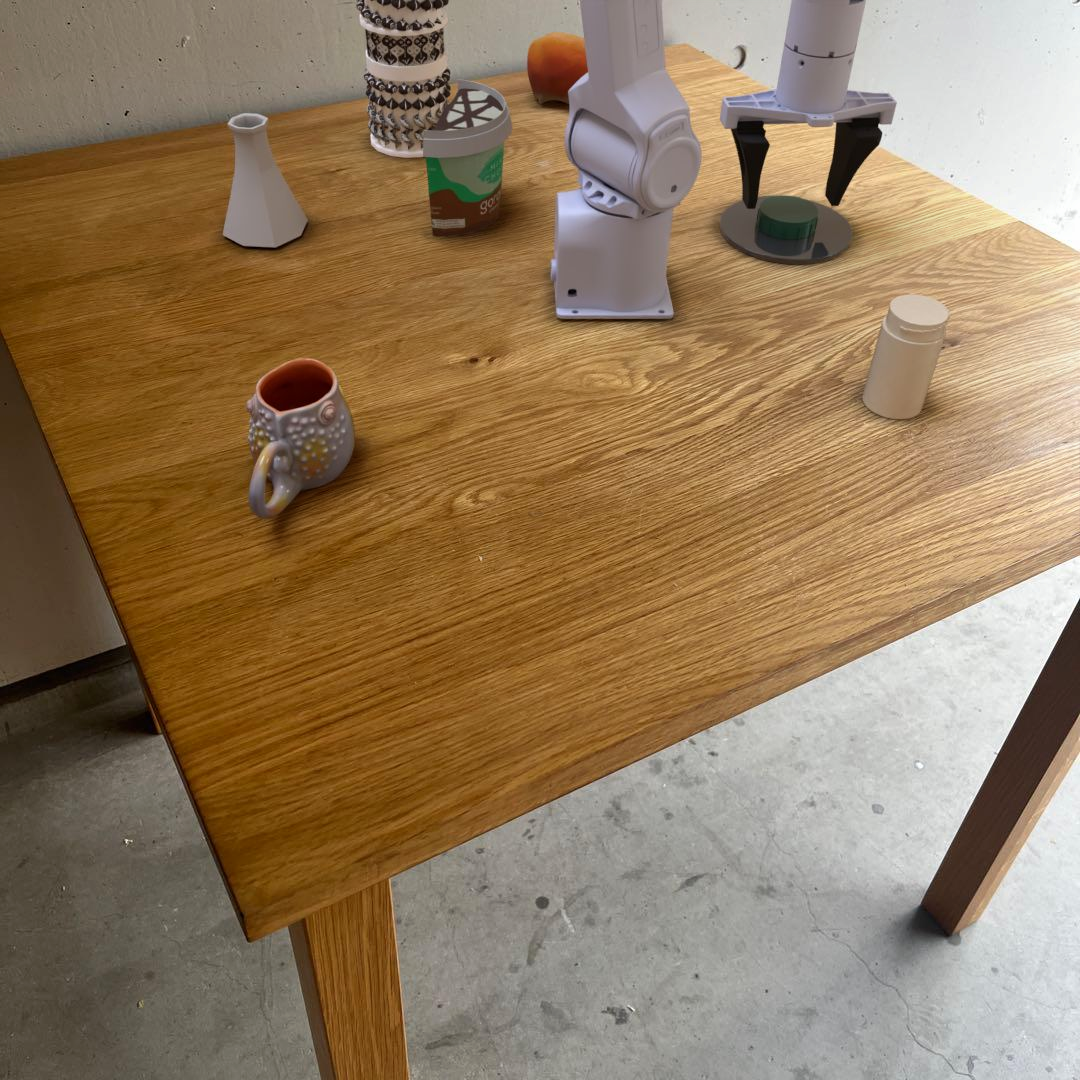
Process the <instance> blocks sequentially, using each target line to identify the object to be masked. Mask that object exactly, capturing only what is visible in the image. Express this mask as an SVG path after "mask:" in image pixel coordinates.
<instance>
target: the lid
mask: <svg viewBox="0 0 1080 1080" xmlns="http://www.w3.org/2000/svg"><path fill="white" fill-rule="evenodd" d="M772 196H773V197H769V198H767V199H765V200H763V201H762V202H761V204H760V207H759V209H758V214H757V220H756V221H757V225H758V228H759V229H760V230H761V231H763V232H764V233H766V234H768V235H770V236H772V237H776V238H780V239H788V240H795V239H802V238H805V237H808V236H810V235H811V234H812V233H813V232H814V230H815V229H816V226H817V221H818V217H817V216H818V209H817V207H816V206H815V205H814V204H813V203H811V202H809V201H807V200H808V199H806V200H805V198H802V197H799V196H793V195H772Z"/></svg>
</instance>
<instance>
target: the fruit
mask: <svg viewBox="0 0 1080 1080" xmlns="http://www.w3.org/2000/svg"><path fill="white" fill-rule="evenodd" d="M526 59H527V60H526V69H527V77H528V82H529V84H530V88H531V91H532V94H533V95H534V96H535V97H536V98H537V99H538V101H539V104H540V106H541V105H542V104H543V103H546V102H550V101H560V102H563V103H565V104H567V105H569V96H568V91H569V89H570V88H571V87H572V86H573V85H574V84H575V83H576V82H577V81H578V80H579V79H580V78H581V77H582V76H584V75H585V74H586V73H588V67H587V58H586V50H585V41H584V37H582V36H581V35H577V34H574V33H573V34H572V33H566V32H562V31H552V32H549V33H546V34H545V35H543V36H540V37H539V38H537V39H536V38H535V39H533V40H532V42H531V43H530V45H529V47H528V51H527V58H526Z"/></svg>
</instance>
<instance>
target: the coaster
mask: <svg viewBox="0 0 1080 1080" xmlns="http://www.w3.org/2000/svg"><path fill="white" fill-rule="evenodd" d="M773 196H774V195H761V196H758V200H757V204H756V207H755V209H747V207H746V205H745V203H744V202H743V200H738V201H736V202H734V203H732V204H731V205H730V206H728V207H726V208H725V209H724V211H723V212H722V213H721V214H720V218H719V226H718V228H719V231H720V235H721V236H722V238H723V239H724V240H725V241H726V242H727V243H728V244H729V246H732V248H734V249H736V250H737V251H739V252H741V253H743V254H745V255H748V256H750V257H752V258H756V259H759V260H762V261H766V262H771V263H776V264H784V265H813V264H819V263H825V262H827V261H830V260H831V261H832V260H833V259H836V258H838V257H839V256H841V255H843V254H844V253H845V252H846V251H848V249H849V248H850V247H851V245H852V242H853V238H854V230H853V227H852V226H851V223H850V222H849V221H848V220H847V219H846V218H845V217H844V216H843V215H842V214H840V213H839V212H837V210H835V209H833V208H832V207H830V206H827V205H824V204H822V203H819V202H816V201H812V200H809V199H805V198H804V199H805V200H807V201H809V202H811V203H813V204H814V205H815V206H816V207H817V209H818V216H817V217H818V221H817V226H816V229H815V230H814V232H813V233H812V234H811V235H810V236H808V237H805V238H802V239H795V240H788V239H780V238H776V237H772V236H770V235H768V234H766V233H764V232H763V231H761V230H760V229H759V228H758V225H757V221H756V220H757V214H758V209H759V207H760V204H761V202H762V201H763V200H765V199H767V198H769V197H773Z"/></svg>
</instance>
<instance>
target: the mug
mask: <svg viewBox="0 0 1080 1080" xmlns="http://www.w3.org/2000/svg"><path fill="white" fill-rule="evenodd" d="M245 409H246V411H247V412H248V413H250V416H251V417H250V419H249V421H248V422H249V430H248V433H249V434H248V436H247V440H248V442H249V449H250V454H251V456H252V459H253V460H254V463H255V465H254V467H253V469H252V473H251V478H250V482H249V487H248V505H249V509H250V511H251V512H252V513H253V515H255V516H256V517H257V518H259V519H262V520H271V519H273V518H275V517H277V516H278V515H280V514H281V513H282V512H283V511H285V509H286V508H287V507H288V506H289V505H290V504H291V503H292V502H293V500H294V499H295V498H296V497H297V496H298V494H300V492H302V491H305V490H310V489H315V488H318V487H322V486H325V485H326V484H328V483H331V482H332V481H334V480H335V479H336V478H338V477H339V476H340V475H341V474H342V473H343V472H344V470H346V468H347V466H348V465H349V463H350V461H351V459H352V456H353V454H354V450H355V446H356V433H355V424H354V418H353V414H352V412H351V407H350V406H349V403H348V401H347V399H346V395H345V391H344V389H343V387H342V386H341V385H340V384H339V381H338V377H337V374H336V373H335V371H334V370H333V369H332V368H331V367H330V366H329V365H328V364H326V363H325V362H322V361H320V360H318V359H315V358H311V357H300V358H296V359H292V360H291V359H290V360H289V361H285V362H284V363H282V364H280V365H278V366H276V367H275V368H273V369H271V370H270V371H268V372H267V373H265V374H264V375H263V376H262V377H260V378H259V380H258V382H257V383H256V385H255V393H254V394H253V395H252V396H251V398H250V399H248V400H247V401H246V403H245ZM267 480H268V481H270V483H272V485H273V492H272V495H271V497H270V499H269V500H268V501H267V503H266V495H265V494H266V493H265V492H266V482H267Z"/></svg>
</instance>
